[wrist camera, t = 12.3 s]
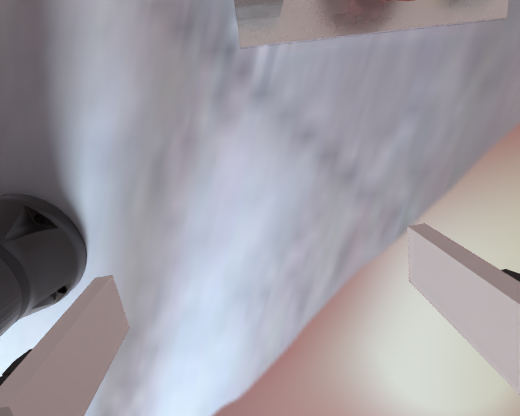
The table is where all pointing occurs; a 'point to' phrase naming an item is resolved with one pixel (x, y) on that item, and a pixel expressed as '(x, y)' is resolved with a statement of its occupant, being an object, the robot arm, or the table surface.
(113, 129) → the table surface
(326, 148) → the table surface
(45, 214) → the robot arm
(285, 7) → the shaft bed
